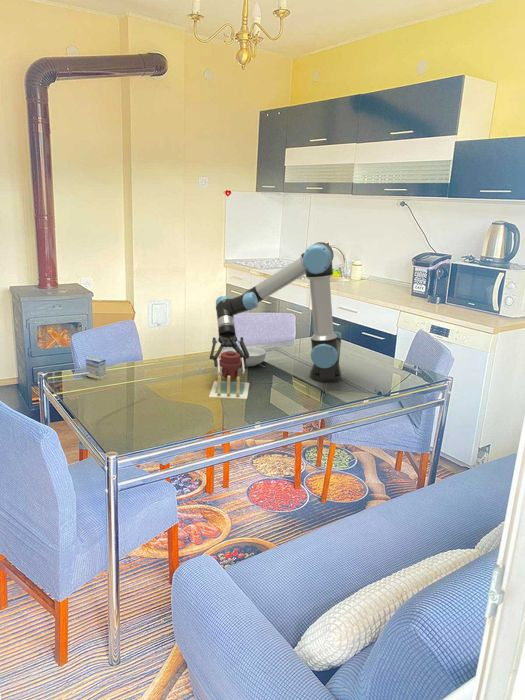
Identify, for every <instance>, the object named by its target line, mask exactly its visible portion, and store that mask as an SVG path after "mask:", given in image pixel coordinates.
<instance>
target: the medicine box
mask: <svg viewBox="0 0 525 700" xmlns="http://www.w3.org/2000/svg"><path fill="white" fill-rule="evenodd" d="M106 365H107V362H106V359H104V358H97V357H93V356H91V357H88V358H85V372H89V373H91V374H93V375H96V376H99V377H101V376H104V375H106V376H107V366H106Z"/></svg>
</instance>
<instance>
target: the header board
mask: <svg viewBox="0 0 525 700" xmlns="http://www.w3.org/2000/svg"><path fill="white" fill-rule="evenodd" d="M236 385H237V381H230V396H229V397H227V381H226V380H225V381H224V380H223V381H222V380H221V396H217V387H218V380H214V382H213V384H212V387H211V390H210V392H209V395H208V397H209V398H220V399H221V398H222V399H242V400H247V399H248V394H249V388H250V382H241V381H240V395H239V397H236Z"/></svg>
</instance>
